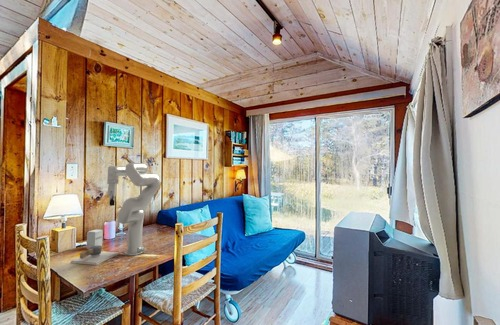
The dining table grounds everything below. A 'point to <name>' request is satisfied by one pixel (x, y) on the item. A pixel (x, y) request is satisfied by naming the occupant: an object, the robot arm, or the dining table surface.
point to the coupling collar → (91, 251)
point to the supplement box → (94, 238)
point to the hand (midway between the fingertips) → (111, 205)
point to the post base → (95, 258)
